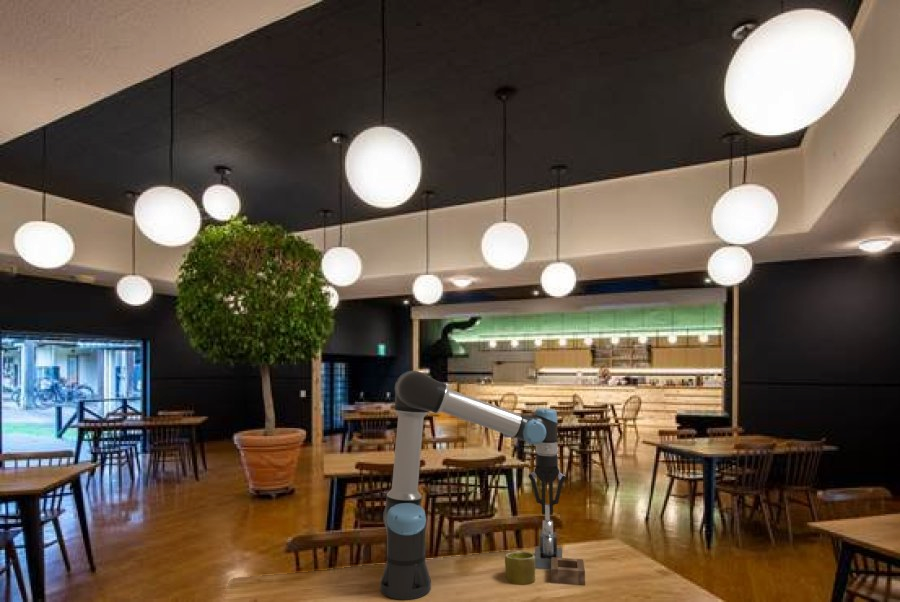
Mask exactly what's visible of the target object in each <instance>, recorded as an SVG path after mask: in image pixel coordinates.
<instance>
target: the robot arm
mask: <svg viewBox="0 0 900 602" xmlns="http://www.w3.org/2000/svg"><path fill="white" fill-rule="evenodd" d="M394 393H395V398H394V407H393V408H394V409H393V410H394V412H395V413H396V415H397V416H398V417H397V424H396V425H397V426H396V427H397V429H396V435H395V436H396V438H395V446H394V447H395V448H394V449H395V451H394V461H393V462H394V463H393V469H392V470H393V472H392V481H391V482H392V484H391V489H390V490H389V491H388V492H387V493H386V498H385V507H384V510H383V515H382V518H383V520H382V521H383V524H384V527H385V531H386V563H385V566H384V570H383V573H382V576H381V580H380V593H381V594H382V595H383V596H385V597H387V598H390V599H394V600H403V601H404V600H405V601H406V600H414V599H418V598H422V597H424V596H426V595H428V593H430V592H431V589H432V579H431V575H430V573H429V570H428V566H427V563H426V524H427V517H426V511H425V509H424V508H423V507H422V499H423V498H422V497H423V495H422V494H421V493H420V492H419V478H420V477H419V476H420V467H421V465H420V464H421V453H422V443H423V431H424V430H423V429H424V418H425V417H426V416H427V415H428V414H429V412H431V413H434V414H438V413H444V414H447V415H449V416H452V417H455V418H459V419H461V420H463V421H466V422H469V423H473V424H474V425H478V426H481V427H484V428H486V429H490V430H493V431H495V432H497V433H502V435H503V436H504V437H505V438H510V439H513V438H514V439H518V440H520V441H524V442H526V443H527V444H529V445H535V453H536V454H535V467H534V471H532V472H530V473H528V478H529V480H530V481H531V484H532V489H533V493H534V497H535V501H536V503H537V504H540V505H541V514H542V515H544V520H551V519H550V518H551V516H553V514H554V506H555V505H558V504H559V501H560V496H561V491H562V488H563V484H564V481H565V480H566V476H567V475H565V474H563V473H561V472H560V469H559V461H558V460H559V459H558V458H559V457H558V455H557V454H558V453H559V449H558V414H557V411H556V410H555V409H552V408H537V409H535V413H534V414H523V415H522V414H520V413H517V412H514V411H512V410H509V409H506V408H504V407H503V408H502V407H500V406H497V405H494V404H492V403H489V402H486V401H484V400H481V399H478V398H475V397H472V396H469V395H467V394H464V393H461V392H459V391H455V390H453V389H450V388H449V386H448V384H446V383H444V382H442V381H438V380H436V379H434V378H433V377H431V376H429V375H427V374H426V373H424V372H421V371H417V370H408V371H406V372H404V373H402V374H401V375H400V376H399V377H398V378H397V380H396V382H395V384H394ZM536 477H537V478H538V479H539V480H540V482H541V497H540V492H539V489H538V485H537V481H536ZM557 477H558V484H557V488H556V493H555V497H554V490H553V489H554V488H553V484H554V481H555V480H556V478H557ZM546 482H547V483H548V490H549V491H548V494H549V495H548V496H549V499H548V500H549V502H548V503H546Z"/></svg>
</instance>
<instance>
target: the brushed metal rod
mask: <svg viewBox="0 0 900 602" xmlns="http://www.w3.org/2000/svg"><path fill="white" fill-rule="evenodd" d="M542 531H543V558H548V559H551V557H554V551H553V532H554V521H553V520H551V519H550V520H545V519H544V520H543V519H542Z"/></svg>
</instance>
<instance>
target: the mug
mask: <svg viewBox="0 0 900 602" xmlns="http://www.w3.org/2000/svg"><path fill="white" fill-rule="evenodd" d="M504 567H505V574H506V579H507V581H508V582H509V583H512V584H514V585H516V586H517V585H518V586H528V585H532V584H534V583H535V582H536V569H535V554H534V553H532V552H527V551H521V550H517V551H516V550H515V552H508V553H506V554H505V557H504Z"/></svg>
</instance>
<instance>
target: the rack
mask: <svg viewBox="0 0 900 602" xmlns="http://www.w3.org/2000/svg"><path fill="white" fill-rule="evenodd" d="M584 563H585V562H584V559H582V558H570V557H569V558H568V557H567V558H566V557H562V558H556V557H551V570H550V574H551V575H550V576H551V577H550V578H551V584H560V585H562V584H563V585H574V586H586V570H585V564H584Z"/></svg>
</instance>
